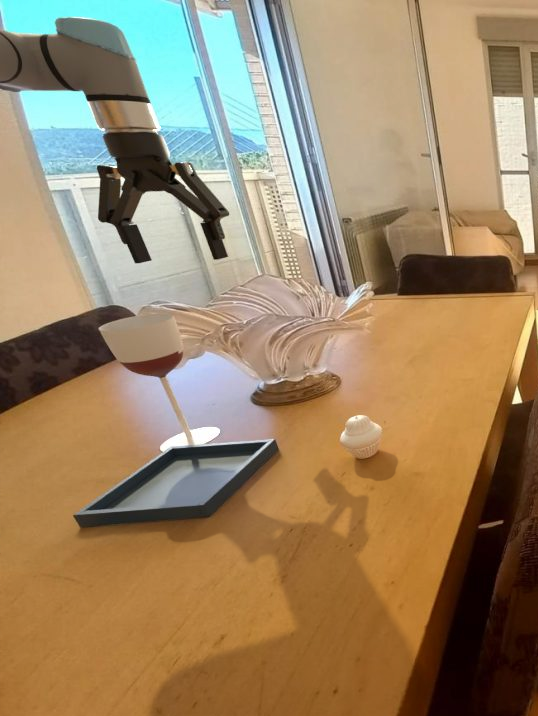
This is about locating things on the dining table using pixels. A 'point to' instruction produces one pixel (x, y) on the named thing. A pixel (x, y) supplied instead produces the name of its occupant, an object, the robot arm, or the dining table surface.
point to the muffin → (361, 437)
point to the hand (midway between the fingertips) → (182, 260)
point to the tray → (179, 484)
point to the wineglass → (154, 361)
